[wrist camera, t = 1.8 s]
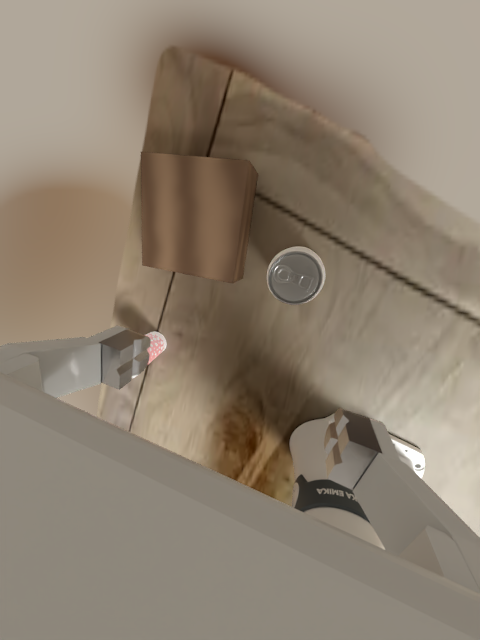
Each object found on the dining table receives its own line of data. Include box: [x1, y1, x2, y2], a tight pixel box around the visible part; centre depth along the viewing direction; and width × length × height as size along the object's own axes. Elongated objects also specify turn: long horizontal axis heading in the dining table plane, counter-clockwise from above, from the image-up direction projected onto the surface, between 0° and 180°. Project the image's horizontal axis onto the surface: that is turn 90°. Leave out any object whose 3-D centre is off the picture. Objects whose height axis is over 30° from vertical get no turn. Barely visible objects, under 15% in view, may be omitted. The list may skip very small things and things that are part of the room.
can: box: [267, 246, 325, 305], centre depth 29 cm, size 6×6×12 cm
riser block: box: [141, 152, 258, 283], centre depth 34 cm, size 15×15×6 cm
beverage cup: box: [132, 331, 166, 378], centre depth 40 cm, size 6×6×14 cm
